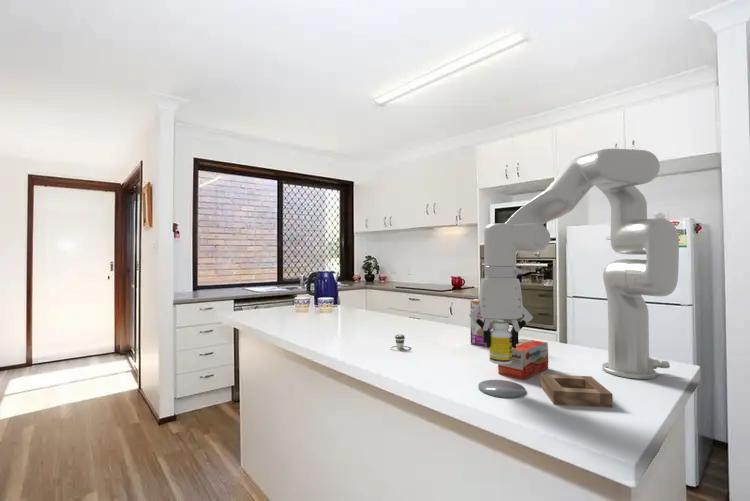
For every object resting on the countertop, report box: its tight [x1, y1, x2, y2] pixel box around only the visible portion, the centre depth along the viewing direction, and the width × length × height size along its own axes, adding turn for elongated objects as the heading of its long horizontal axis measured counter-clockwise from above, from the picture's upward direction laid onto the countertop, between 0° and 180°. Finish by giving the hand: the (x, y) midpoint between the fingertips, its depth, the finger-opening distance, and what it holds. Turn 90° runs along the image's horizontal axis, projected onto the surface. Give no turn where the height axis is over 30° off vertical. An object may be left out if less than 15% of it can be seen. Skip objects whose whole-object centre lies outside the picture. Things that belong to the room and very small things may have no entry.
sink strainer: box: [390, 334, 412, 352], centre depth 137 cm, size 12×12×5 cm
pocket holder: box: [539, 373, 614, 409], centre depth 90 cm, size 12×12×3 cm
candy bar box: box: [470, 298, 505, 347], centre depth 141 cm, size 11×5×16 cm, turn 58°
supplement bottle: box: [488, 320, 512, 365], centre depth 95 cm, size 5×5×10 cm
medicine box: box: [497, 338, 549, 381], centre depth 109 cm, size 15×8×8 cm, turn 133°
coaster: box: [477, 379, 526, 399], centre depth 94 cm, size 11×11×1 cm
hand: (500, 345), depth 95 cm, fingers closed on supplement bottle, 5 cm apart
